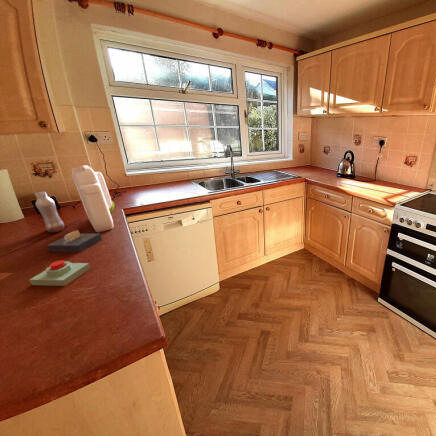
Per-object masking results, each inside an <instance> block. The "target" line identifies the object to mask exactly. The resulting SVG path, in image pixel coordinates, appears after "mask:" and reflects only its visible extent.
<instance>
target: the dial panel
mask: <svg viewBox="0 0 436 436" xmlns="http://www.w3.org/2000/svg"><path fill="white" fill-rule="evenodd" d="M80 236H81V237H79V238H77V239H75V240H73V241H71V242H67V239H66V237H65V236H63V237H61V238H59V239H57V240H54V241H53V242H51V243H48V244H47V245H46V246H47V249H48V251H49V252H51V253H52V252H53V253H55V252H56V253H57V252H59V253H61V252H67V253H68V252H69V253H70V252H71V253H79V252H81V253H82V252H83V251H84V250H87V249H88V248H90V247H91V246H94V245H95V244H97V243H98V242H100V241H102V239H103V238H102V236H101V234H100V233H80Z"/></svg>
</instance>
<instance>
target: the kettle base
mask: <svg viewBox="0 0 436 436" xmlns="http://www.w3.org/2000/svg"><path fill="white" fill-rule="evenodd" d="M64 263H65V265H66V266H64V267H63V268H60V269H57V270H52V269H51V267H50V266H48V267H46V268H45V270H43V271H42V272H40V273H39V274H36V275H35V276H33V277H32V278H30V279H29V282H30V284H31V286H57V287H59V286H61V287H66V286H68V285H69V284H70V283H72V282H74V281H75V280H76V279H78V278H79V277H80V276H82V275H84V274H85V273H86V272H88V271H89V270H91V269H92V267H91V265H90V263H89V262H71V261H68V260H67V261H65V260H64Z"/></svg>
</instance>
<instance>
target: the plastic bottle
mask: <svg viewBox="0 0 436 436" xmlns="http://www.w3.org/2000/svg"><path fill="white" fill-rule="evenodd" d="M34 195H35V198H36V201H35V207H36V208H37V209H38V211H39V213H40V214H41V216H42V218H43V221H44V224H45V225H44V226H45V229H46V231H47V232H49V233H51V234H52V233H54V234H55V233H58V232H61V231H64V230H65V228H66V226H65V223H64V221H63V220H62V219H61V216H59V213H58V210H57V206H56V203H55V200H54V199H52V198H51V197H49V196H48V193H47V192H46V191H45V190H44V191H38V192H34Z"/></svg>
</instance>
